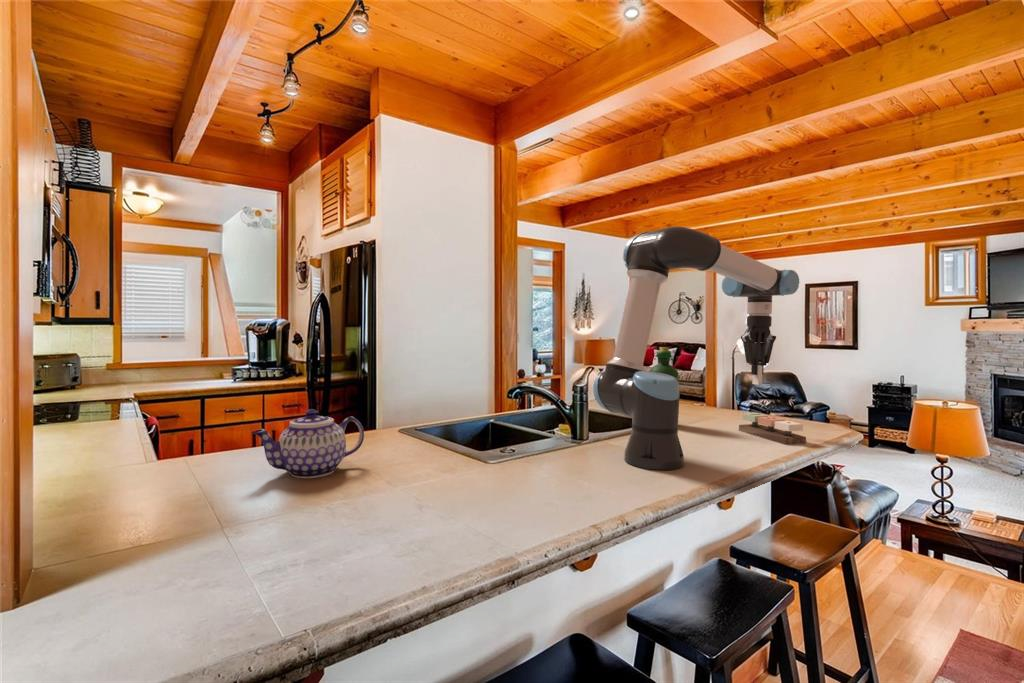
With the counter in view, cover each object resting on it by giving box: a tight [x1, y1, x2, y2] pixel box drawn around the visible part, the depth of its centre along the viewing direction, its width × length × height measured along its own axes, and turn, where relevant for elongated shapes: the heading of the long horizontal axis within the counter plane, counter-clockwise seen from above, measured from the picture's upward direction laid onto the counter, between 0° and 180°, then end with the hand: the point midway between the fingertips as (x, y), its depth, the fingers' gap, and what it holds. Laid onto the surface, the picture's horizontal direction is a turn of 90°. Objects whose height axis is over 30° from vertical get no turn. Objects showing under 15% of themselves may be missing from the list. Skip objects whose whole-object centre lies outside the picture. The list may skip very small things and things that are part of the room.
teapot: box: [253, 408, 365, 479], centre depth 118 cm, size 25×15×15 cm, turn 125°
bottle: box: [649, 346, 680, 382], centre depth 180 cm, size 11×11×28 cm
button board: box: [738, 423, 807, 445], centre depth 165 cm, size 8×20×2 cm, turn 17°
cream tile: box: [774, 420, 804, 437], centre depth 158 cm, size 6×6×4 cm
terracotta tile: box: [758, 416, 786, 432], centre depth 164 cm, size 6×6×4 cm
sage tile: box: [742, 412, 769, 427], centre depth 171 cm, size 6×6×4 cm
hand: (757, 384), depth 171 cm, fingers closed
